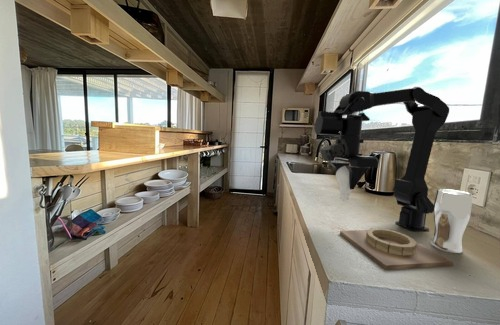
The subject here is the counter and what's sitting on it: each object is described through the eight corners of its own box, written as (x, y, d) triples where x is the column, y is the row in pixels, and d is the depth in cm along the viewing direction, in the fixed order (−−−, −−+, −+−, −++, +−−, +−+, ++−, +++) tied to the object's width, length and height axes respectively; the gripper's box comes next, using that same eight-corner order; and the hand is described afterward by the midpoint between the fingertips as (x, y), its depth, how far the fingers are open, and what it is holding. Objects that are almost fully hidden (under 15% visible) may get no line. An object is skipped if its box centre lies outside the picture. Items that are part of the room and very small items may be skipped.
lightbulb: (357, 205, 63) (361, 168, 61) (335, 203, 64) (338, 166, 63) (352, 199, 68) (355, 165, 67) (332, 197, 70) (334, 164, 69)
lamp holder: (391, 232, 64) (392, 222, 64) (452, 265, 48) (454, 253, 47) (339, 234, 62) (340, 224, 61) (385, 269, 45) (386, 256, 45)
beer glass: (468, 257, 51) (478, 197, 50) (431, 249, 55) (439, 192, 53) (459, 246, 57) (468, 191, 56) (426, 238, 61) (433, 187, 59)
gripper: (311, 135, 72) (308, 180, 74) (343, 134, 54) (338, 195, 55) (341, 136, 74) (338, 180, 75) (382, 136, 55) (376, 194, 57)
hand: (345, 186), depth 66 cm, fingers closed on lightbulb, 6 cm apart
